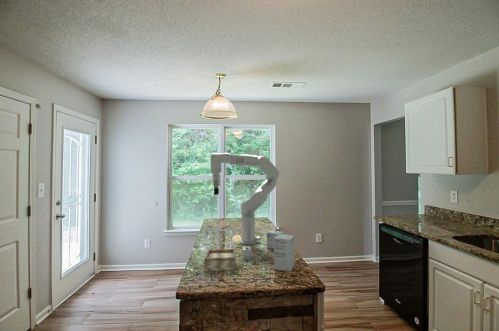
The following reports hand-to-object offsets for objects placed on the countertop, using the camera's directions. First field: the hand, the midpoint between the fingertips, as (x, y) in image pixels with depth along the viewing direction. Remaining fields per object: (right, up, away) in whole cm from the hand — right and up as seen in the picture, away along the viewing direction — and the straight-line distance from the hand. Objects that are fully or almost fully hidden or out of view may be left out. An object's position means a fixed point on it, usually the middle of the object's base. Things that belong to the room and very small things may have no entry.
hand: (216, 194), depth 199 cm
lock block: (+22, -35, -32) cm, 53 cm away
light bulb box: (+42, -35, -12) cm, 56 cm away
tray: (+8, -35, -44) cm, 57 cm away
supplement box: (+43, -35, -49) cm, 74 cm away
